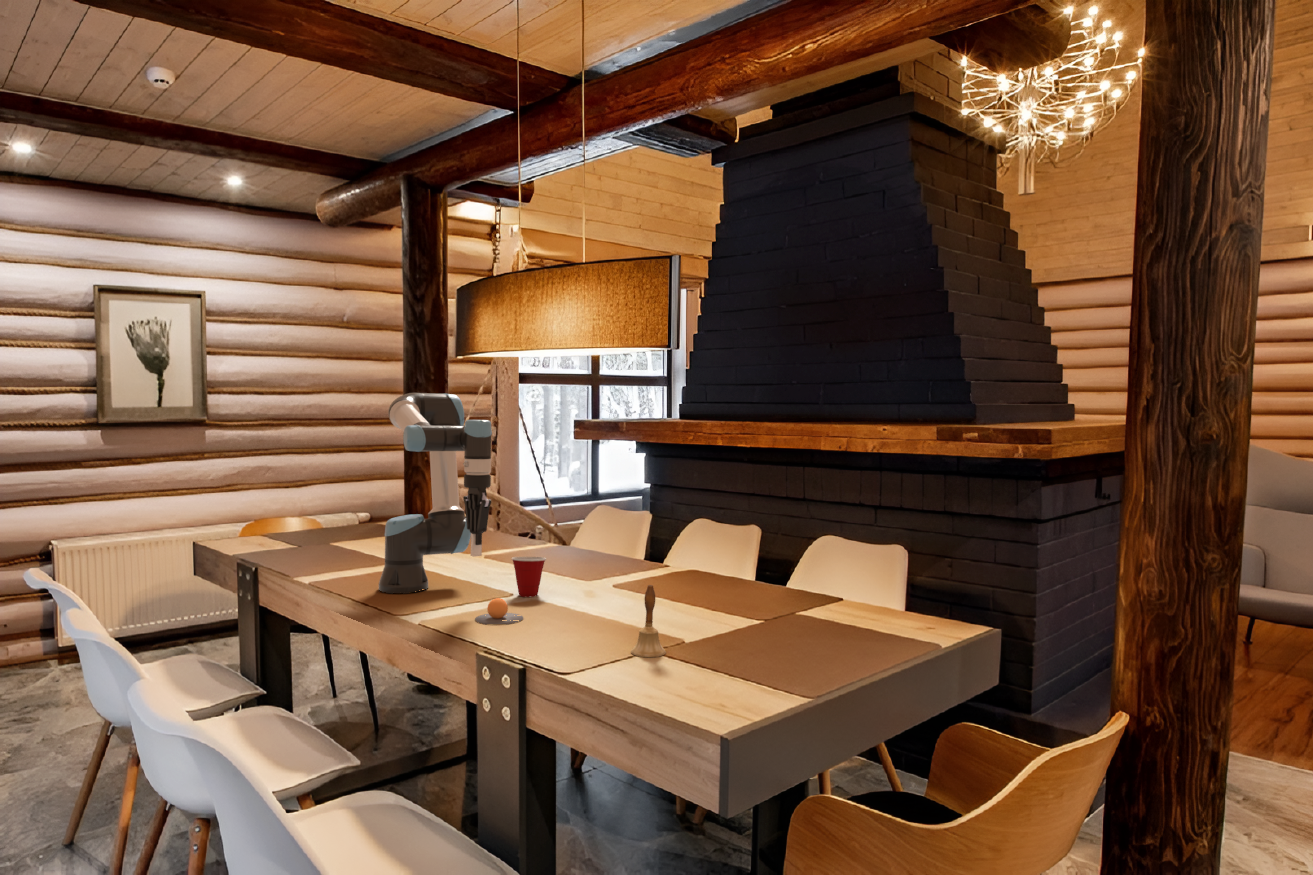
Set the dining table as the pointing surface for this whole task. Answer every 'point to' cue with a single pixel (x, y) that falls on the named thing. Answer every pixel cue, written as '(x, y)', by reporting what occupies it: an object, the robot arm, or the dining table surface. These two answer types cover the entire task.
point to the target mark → (490, 620)
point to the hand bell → (648, 631)
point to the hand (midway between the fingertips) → (476, 555)
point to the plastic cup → (528, 574)
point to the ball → (497, 608)
